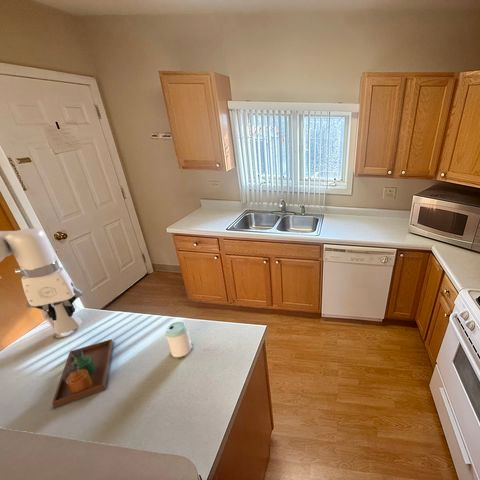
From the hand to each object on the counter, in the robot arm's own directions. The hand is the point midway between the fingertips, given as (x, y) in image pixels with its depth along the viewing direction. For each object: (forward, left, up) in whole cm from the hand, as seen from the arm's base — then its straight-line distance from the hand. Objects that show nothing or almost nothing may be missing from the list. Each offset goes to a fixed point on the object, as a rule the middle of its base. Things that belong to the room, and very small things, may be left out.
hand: (63, 315), depth 85 cm
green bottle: (+2, -8, -20) cm, 21 cm away
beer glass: (-9, +20, -20) cm, 30 cm away
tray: (+2, -7, -20) cm, 21 cm away
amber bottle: (+2, -14, -20) cm, 24 cm away
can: (+31, -13, -20) cm, 39 cm away
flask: (0, 0, -5) cm, 5 cm away
